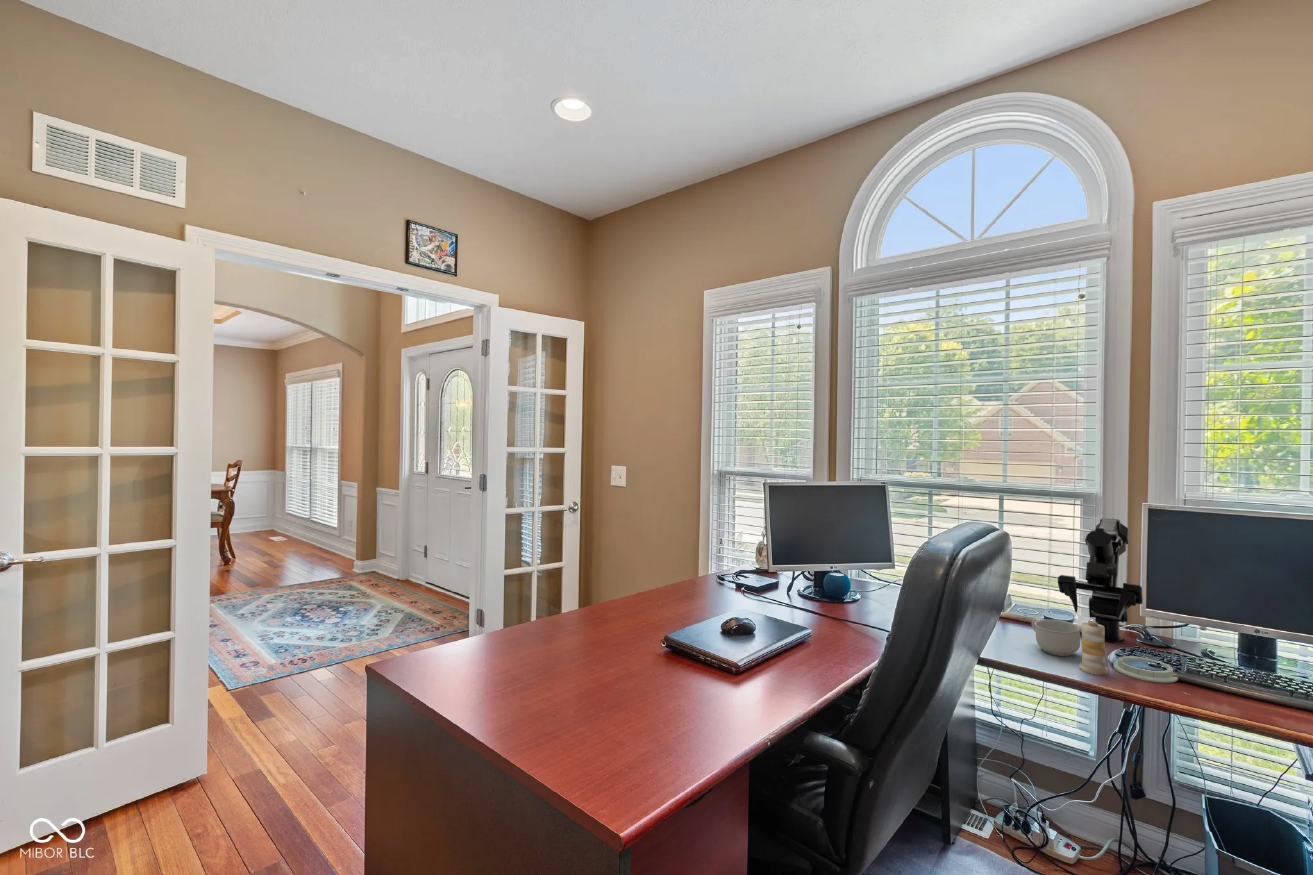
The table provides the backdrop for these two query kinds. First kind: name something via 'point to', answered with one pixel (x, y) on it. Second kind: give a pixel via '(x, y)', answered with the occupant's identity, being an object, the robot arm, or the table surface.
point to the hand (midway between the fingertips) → (1096, 614)
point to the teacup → (1057, 636)
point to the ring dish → (1145, 671)
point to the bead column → (1093, 649)
